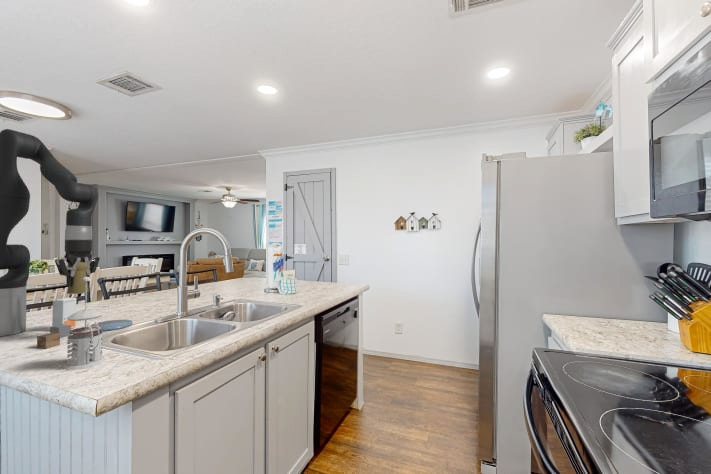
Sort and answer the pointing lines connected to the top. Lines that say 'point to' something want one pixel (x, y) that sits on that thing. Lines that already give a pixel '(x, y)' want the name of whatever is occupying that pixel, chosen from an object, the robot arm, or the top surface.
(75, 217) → the robot arm
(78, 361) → the french press
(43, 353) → the top surface
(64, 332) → the graphite block
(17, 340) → the top surface
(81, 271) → the cork
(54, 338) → the walnut block
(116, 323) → the slate plate
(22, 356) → the top surface
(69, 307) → the skincare box
